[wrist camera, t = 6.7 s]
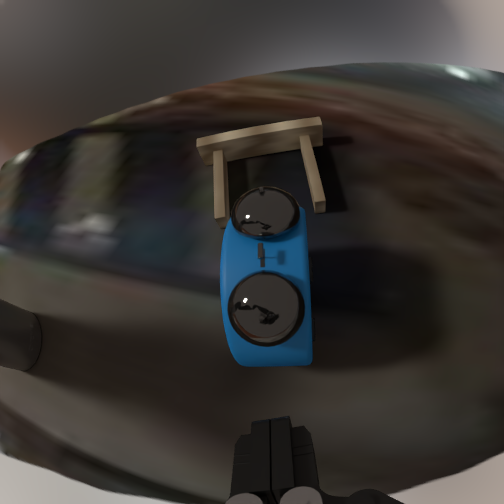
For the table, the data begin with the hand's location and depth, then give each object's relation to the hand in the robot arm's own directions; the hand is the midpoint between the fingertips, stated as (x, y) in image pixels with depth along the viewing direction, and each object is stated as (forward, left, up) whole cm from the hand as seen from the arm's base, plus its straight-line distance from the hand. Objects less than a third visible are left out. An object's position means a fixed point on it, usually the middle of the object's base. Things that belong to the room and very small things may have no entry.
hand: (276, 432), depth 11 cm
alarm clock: (0, +10, -19) cm, 22 cm away
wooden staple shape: (0, +27, -19) cm, 33 cm away
